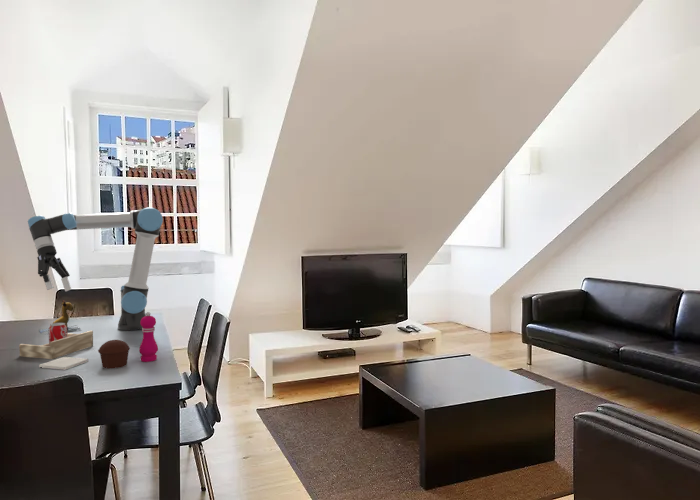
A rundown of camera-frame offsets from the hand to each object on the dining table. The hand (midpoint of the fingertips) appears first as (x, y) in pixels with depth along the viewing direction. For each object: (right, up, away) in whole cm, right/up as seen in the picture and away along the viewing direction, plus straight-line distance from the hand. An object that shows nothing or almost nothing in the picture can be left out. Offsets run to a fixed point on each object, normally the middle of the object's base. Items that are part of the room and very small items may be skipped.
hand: (59, 289), depth 237 cm
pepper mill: (+51, -27, -25) cm, 64 cm away
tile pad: (+21, -27, -33) cm, 47 cm away
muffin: (+41, -28, -34) cm, 60 cm away
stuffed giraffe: (-17, -24, +29) cm, 41 cm away
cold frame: (+6, -26, -12) cm, 29 cm away
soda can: (+6, -26, -12) cm, 30 cm away
